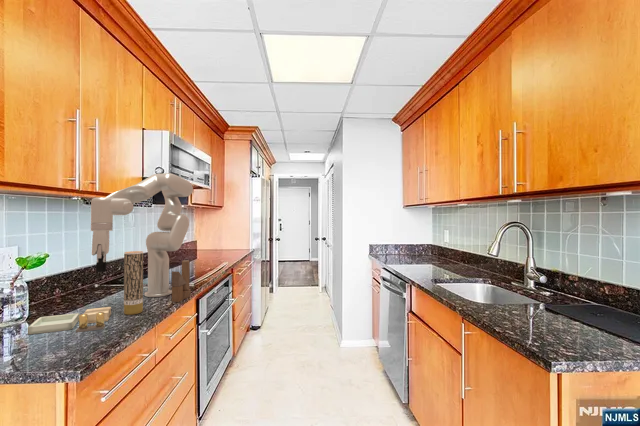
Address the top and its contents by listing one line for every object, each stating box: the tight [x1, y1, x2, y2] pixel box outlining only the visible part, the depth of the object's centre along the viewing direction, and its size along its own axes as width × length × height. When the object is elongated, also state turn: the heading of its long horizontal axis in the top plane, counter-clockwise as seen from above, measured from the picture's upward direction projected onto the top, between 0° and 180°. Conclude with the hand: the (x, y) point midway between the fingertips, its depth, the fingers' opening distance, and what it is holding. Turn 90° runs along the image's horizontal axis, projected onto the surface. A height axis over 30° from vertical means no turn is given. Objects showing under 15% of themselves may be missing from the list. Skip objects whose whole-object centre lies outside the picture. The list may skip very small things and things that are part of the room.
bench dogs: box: [75, 312, 106, 333], centre depth 116 cm, size 4×8×5 cm, turn 116°
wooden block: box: [171, 259, 192, 303], centre depth 156 cm, size 4×11×18 cm, turn 173°
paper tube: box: [123, 250, 144, 316], centre depth 134 cm, size 7×7×25 cm
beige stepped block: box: [83, 306, 112, 324], centre depth 127 cm, size 9×8×4 cm
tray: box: [27, 312, 81, 336], centre depth 118 cm, size 12×12×2 cm
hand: (101, 271), depth 135 cm, fingers closed
